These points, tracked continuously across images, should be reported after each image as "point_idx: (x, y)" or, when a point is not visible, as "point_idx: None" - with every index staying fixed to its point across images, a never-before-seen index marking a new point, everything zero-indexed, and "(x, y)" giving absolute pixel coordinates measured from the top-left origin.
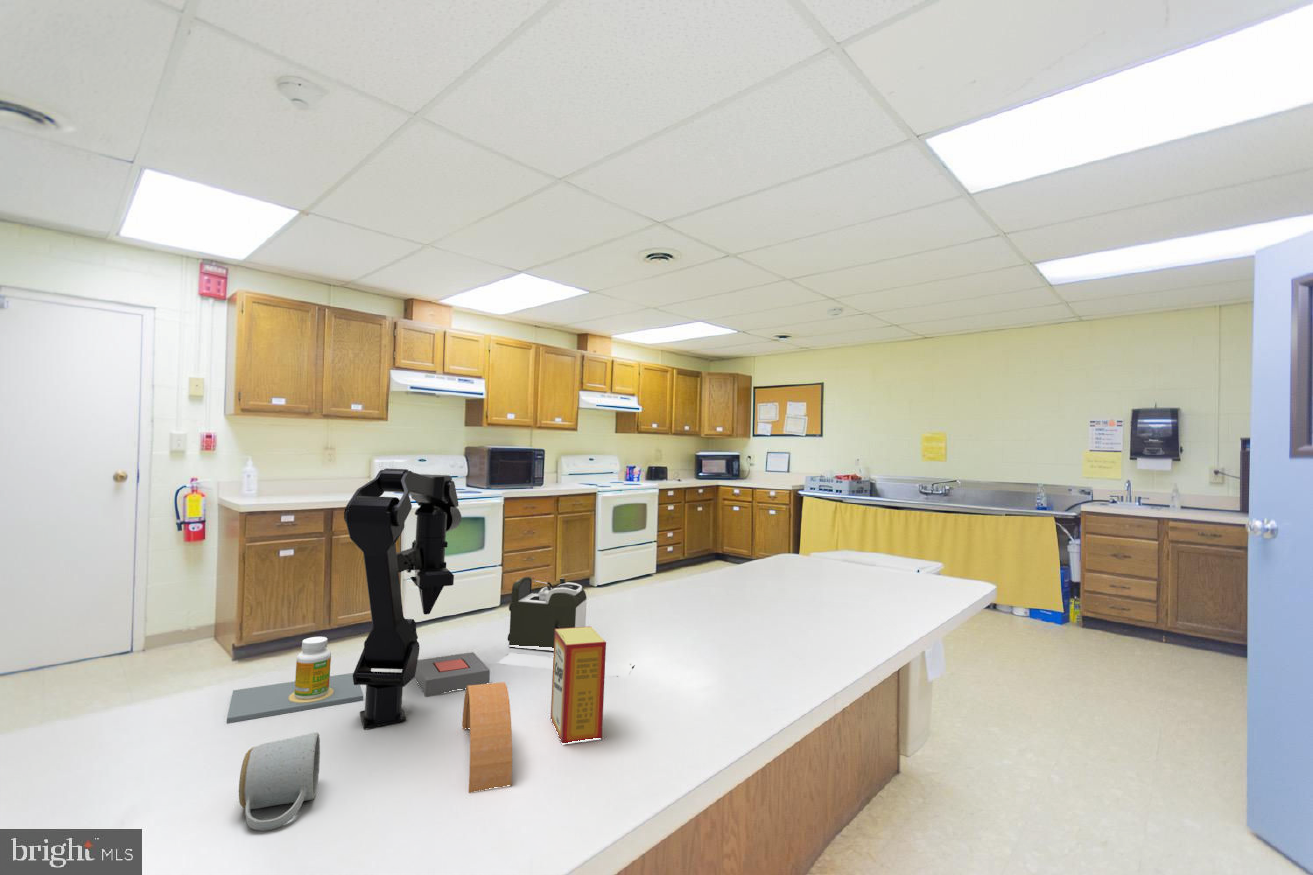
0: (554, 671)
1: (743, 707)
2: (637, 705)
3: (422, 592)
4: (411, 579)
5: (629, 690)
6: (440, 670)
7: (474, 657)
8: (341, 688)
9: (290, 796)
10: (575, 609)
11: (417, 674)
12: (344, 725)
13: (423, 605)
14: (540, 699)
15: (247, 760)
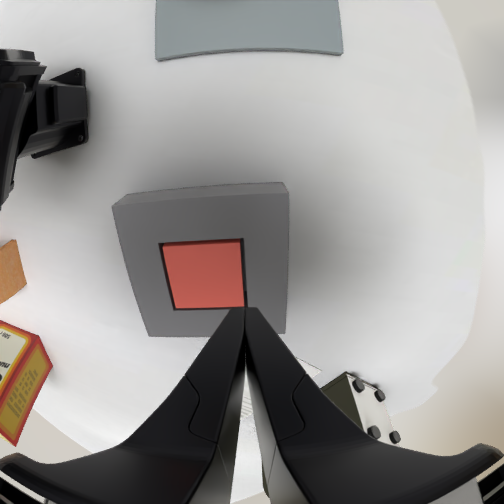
0: (3, 377)
1: (80, 434)
2: (78, 402)
3: (140, 427)
4: (412, 497)
5: (115, 415)
6: (170, 248)
7: None
8: (230, 11)
9: None
10: (263, 482)
11: (223, 189)
12: (57, 54)
13: (208, 343)
14: (91, 351)
15: None
